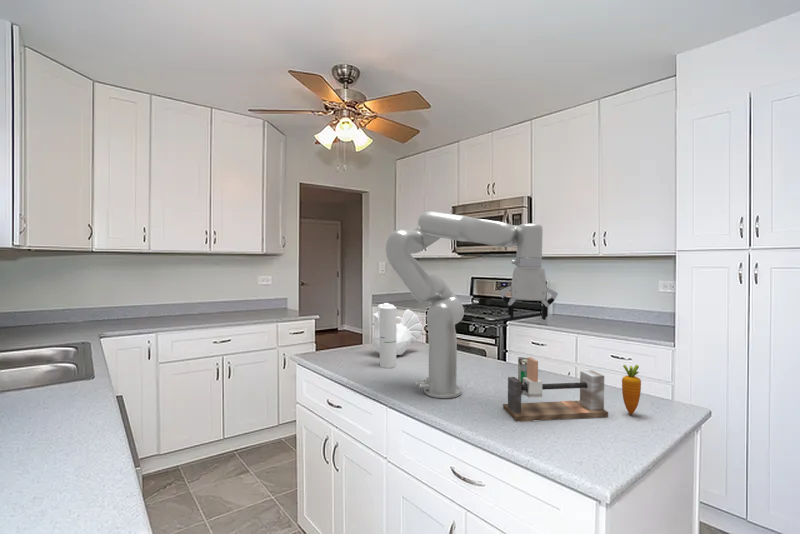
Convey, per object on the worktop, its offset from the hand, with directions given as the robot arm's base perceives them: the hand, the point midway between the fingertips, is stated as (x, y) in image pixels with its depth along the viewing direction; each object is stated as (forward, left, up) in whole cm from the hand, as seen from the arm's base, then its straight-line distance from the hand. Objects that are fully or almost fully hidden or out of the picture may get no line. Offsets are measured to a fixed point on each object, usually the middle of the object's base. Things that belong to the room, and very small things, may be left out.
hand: (527, 318), depth 129 cm
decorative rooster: (-31, +72, -28) cm, 83 cm away
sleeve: (-1, -7, -22) cm, 23 cm away
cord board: (+6, -7, -27) cm, 29 cm away
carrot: (+28, -11, -28) cm, 41 cm away
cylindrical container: (-38, +52, -28) cm, 70 cm away
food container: (+8, +15, -28) cm, 33 cm away
